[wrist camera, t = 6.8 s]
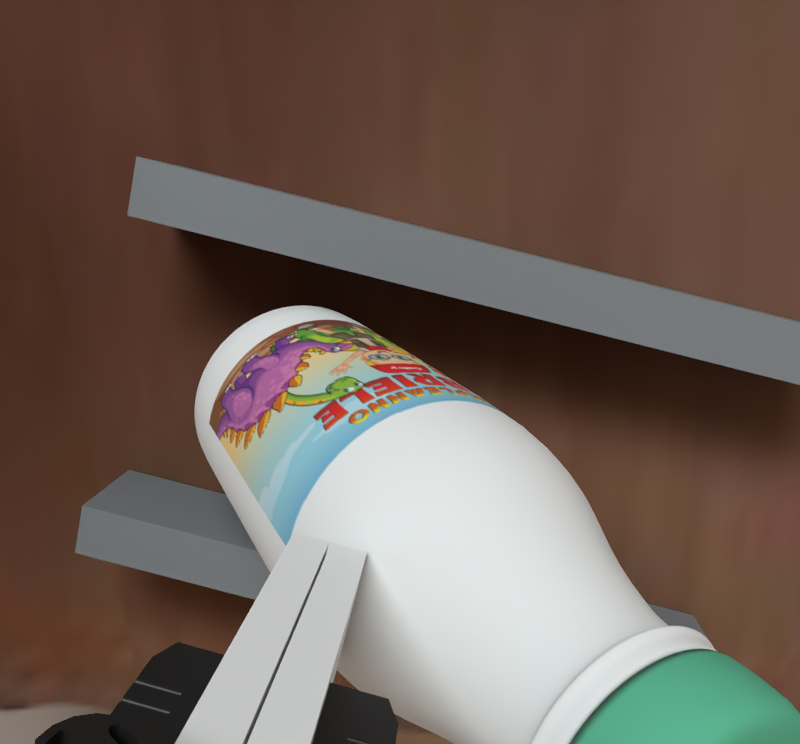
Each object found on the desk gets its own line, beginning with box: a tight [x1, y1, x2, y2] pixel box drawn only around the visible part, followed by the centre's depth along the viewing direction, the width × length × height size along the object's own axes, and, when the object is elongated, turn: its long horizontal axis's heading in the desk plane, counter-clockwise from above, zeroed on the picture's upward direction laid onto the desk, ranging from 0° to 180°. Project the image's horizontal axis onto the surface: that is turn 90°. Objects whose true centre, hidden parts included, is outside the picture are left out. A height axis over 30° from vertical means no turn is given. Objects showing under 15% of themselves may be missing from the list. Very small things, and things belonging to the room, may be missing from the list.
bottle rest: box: [75, 156, 800, 639], centre depth 27 cm, size 25×15×4 cm, turn 76°
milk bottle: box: [194, 305, 800, 744], centre depth 19 cm, size 8×8×20 cm
